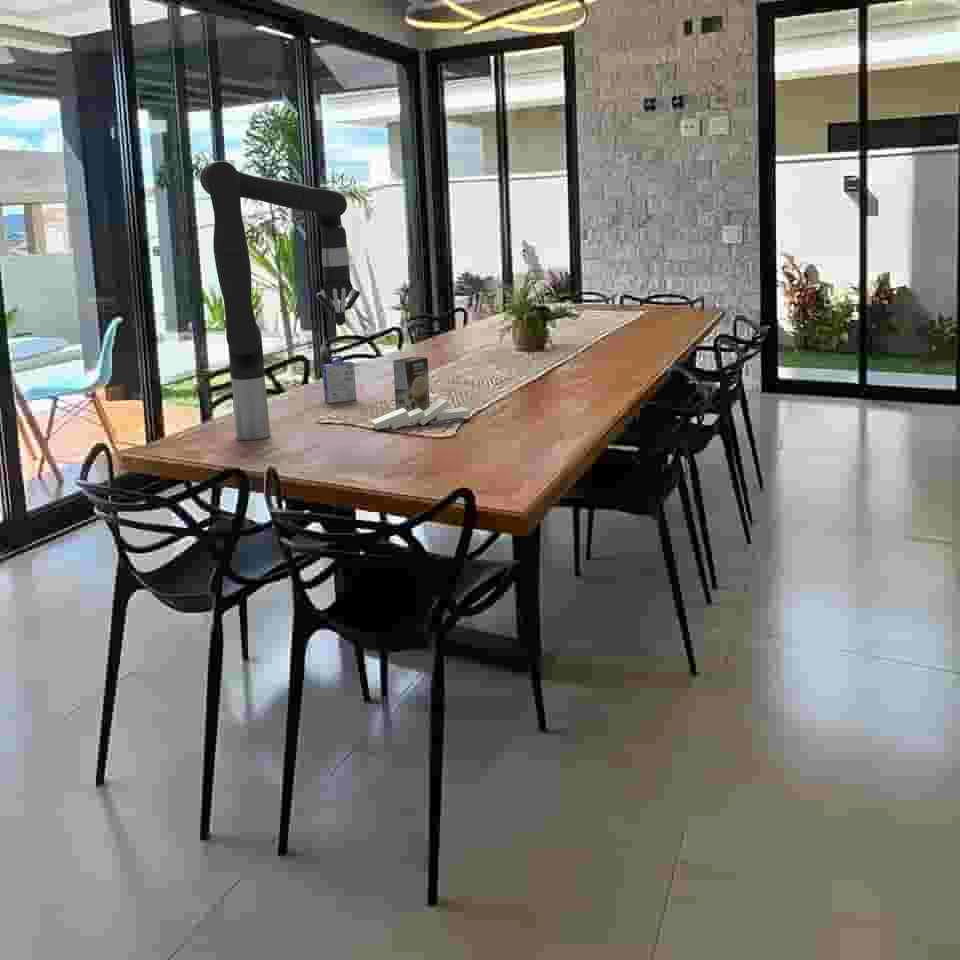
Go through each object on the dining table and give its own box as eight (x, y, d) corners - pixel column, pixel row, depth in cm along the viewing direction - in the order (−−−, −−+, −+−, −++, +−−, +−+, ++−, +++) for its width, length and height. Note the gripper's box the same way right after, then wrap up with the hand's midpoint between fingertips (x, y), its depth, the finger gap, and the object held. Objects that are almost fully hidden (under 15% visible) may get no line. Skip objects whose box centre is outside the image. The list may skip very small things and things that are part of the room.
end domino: (424, 424, 321) (455, 420, 325) (430, 427, 317) (462, 423, 321) (423, 418, 321) (454, 414, 325) (430, 421, 317) (461, 417, 321)
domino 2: (391, 423, 312) (423, 410, 314) (387, 420, 317) (418, 407, 319) (393, 429, 313) (425, 416, 315) (389, 426, 318) (420, 413, 320)
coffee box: (410, 414, 332) (407, 362, 327) (395, 412, 336) (392, 360, 331) (430, 409, 339) (428, 357, 334) (415, 407, 343) (412, 356, 338)
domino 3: (419, 420, 315) (447, 400, 317) (414, 418, 319) (441, 398, 321) (422, 425, 315) (450, 405, 317) (417, 422, 320) (444, 403, 322)
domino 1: (374, 424, 311) (406, 410, 313) (371, 420, 316) (403, 407, 317) (376, 429, 312) (409, 416, 313) (373, 426, 316) (405, 413, 318)
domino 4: (436, 414, 317) (469, 410, 320) (432, 411, 322) (464, 407, 324) (437, 420, 318) (470, 416, 320) (432, 417, 322) (464, 413, 325)
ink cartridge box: (352, 397, 362) (349, 353, 358) (357, 400, 357) (354, 356, 354) (323, 401, 358) (320, 357, 354) (328, 403, 354) (325, 359, 350)
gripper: (315, 266, 306) (320, 328, 310) (361, 263, 309) (365, 324, 314) (310, 264, 313) (315, 325, 317) (355, 261, 316) (360, 321, 321)
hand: (340, 325), depth 316 cm, fingers closed
